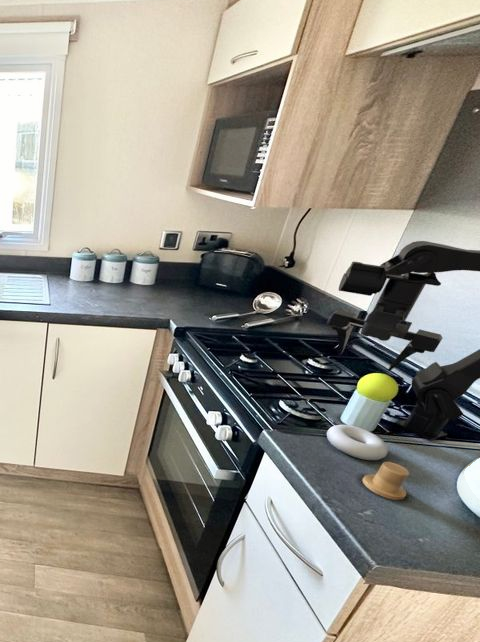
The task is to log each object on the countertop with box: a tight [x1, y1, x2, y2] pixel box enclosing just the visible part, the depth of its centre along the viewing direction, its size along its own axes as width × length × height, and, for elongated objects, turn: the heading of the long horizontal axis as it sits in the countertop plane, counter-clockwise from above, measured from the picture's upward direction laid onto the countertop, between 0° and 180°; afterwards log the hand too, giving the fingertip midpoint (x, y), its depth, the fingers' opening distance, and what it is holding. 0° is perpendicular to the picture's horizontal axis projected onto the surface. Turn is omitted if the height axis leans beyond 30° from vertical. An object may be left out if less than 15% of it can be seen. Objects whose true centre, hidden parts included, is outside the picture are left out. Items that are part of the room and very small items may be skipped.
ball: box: [356, 372, 399, 402], centre depth 93 cm, size 7×7×7 cm
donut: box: [326, 424, 389, 461], centre depth 88 cm, size 10×4×10 cm
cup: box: [340, 388, 392, 432], centre depth 96 cm, size 6×6×8 cm
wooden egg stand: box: [362, 461, 410, 501], centre depth 77 cm, size 6×6×5 cm
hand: (363, 362), depth 97 cm, fingers open, 9 cm apart
